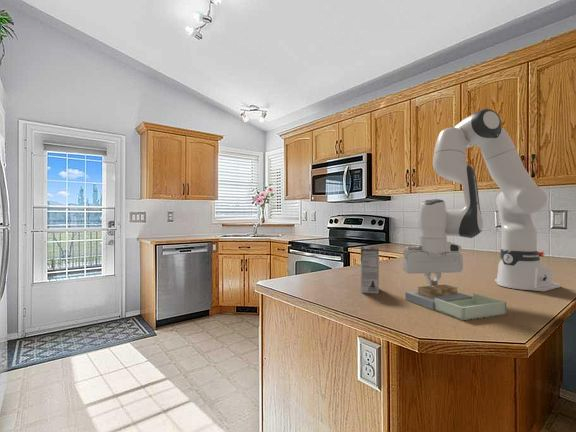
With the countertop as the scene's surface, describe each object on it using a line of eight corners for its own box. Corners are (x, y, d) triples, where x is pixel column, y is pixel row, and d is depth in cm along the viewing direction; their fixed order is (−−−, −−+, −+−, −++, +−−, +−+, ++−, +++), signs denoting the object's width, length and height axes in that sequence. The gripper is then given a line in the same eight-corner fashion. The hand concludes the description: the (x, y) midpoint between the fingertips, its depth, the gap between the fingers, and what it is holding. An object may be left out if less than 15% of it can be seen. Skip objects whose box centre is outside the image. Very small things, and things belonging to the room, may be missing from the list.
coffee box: (360, 287, 126) (360, 246, 125) (377, 287, 124) (377, 246, 124) (361, 293, 117) (361, 248, 116) (379, 293, 115) (379, 249, 115)
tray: (474, 304, 102) (474, 293, 102) (506, 314, 92) (506, 302, 92) (434, 310, 96) (434, 298, 96) (463, 320, 87) (463, 308, 87)
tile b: (430, 291, 108) (430, 285, 108) (441, 295, 103) (441, 289, 103) (418, 293, 106) (418, 287, 106) (429, 296, 102) (429, 290, 101)
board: (442, 295, 113) (442, 288, 113) (472, 304, 102) (472, 296, 102) (405, 299, 108) (405, 292, 108) (432, 309, 96) (432, 301, 96)
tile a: (445, 290, 110) (445, 284, 110) (457, 293, 105) (457, 287, 105) (433, 291, 108) (433, 285, 108) (445, 295, 104) (445, 288, 104)
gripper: (408, 247, 108) (408, 288, 108) (465, 246, 110) (465, 286, 110) (399, 245, 114) (399, 284, 114) (454, 244, 116) (454, 282, 116)
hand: (432, 285), depth 112 cm, fingers closed
